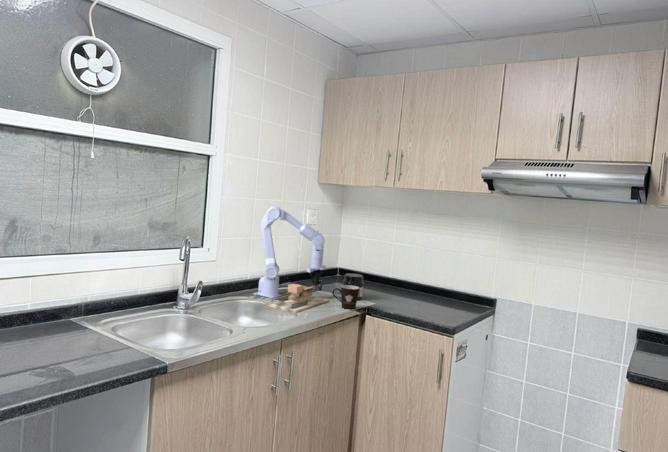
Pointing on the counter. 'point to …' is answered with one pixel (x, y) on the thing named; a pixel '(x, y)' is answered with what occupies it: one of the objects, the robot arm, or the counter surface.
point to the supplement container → (355, 282)
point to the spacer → (295, 288)
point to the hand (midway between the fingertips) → (315, 285)
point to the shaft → (314, 288)
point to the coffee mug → (348, 296)
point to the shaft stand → (297, 301)
